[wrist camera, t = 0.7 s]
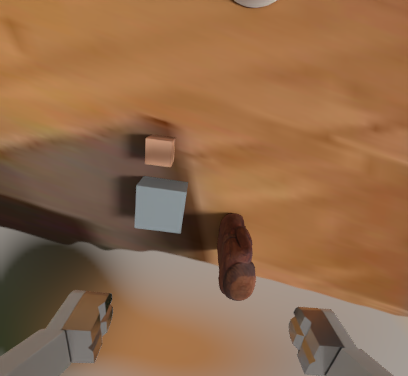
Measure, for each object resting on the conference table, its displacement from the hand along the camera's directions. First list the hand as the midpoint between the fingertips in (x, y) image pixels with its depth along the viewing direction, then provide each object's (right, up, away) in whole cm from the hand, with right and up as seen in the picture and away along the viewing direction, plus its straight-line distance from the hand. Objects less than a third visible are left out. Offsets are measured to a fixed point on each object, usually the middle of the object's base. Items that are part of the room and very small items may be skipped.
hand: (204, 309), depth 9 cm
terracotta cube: (-9, +14, +35) cm, 38 cm away
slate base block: (-9, +3, +39) cm, 41 cm away
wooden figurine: (+6, -6, +43) cm, 44 cm away
